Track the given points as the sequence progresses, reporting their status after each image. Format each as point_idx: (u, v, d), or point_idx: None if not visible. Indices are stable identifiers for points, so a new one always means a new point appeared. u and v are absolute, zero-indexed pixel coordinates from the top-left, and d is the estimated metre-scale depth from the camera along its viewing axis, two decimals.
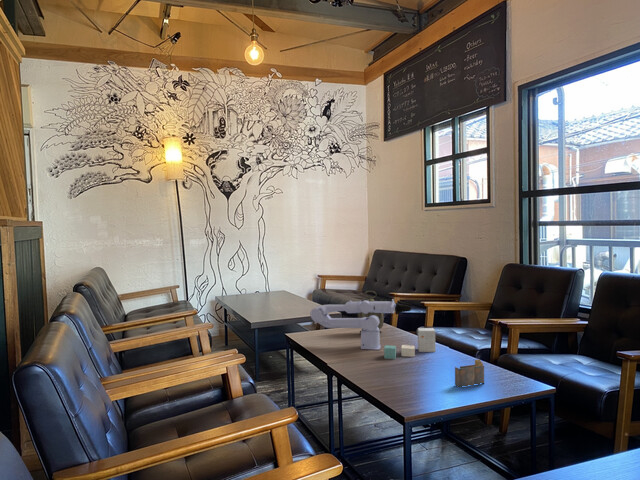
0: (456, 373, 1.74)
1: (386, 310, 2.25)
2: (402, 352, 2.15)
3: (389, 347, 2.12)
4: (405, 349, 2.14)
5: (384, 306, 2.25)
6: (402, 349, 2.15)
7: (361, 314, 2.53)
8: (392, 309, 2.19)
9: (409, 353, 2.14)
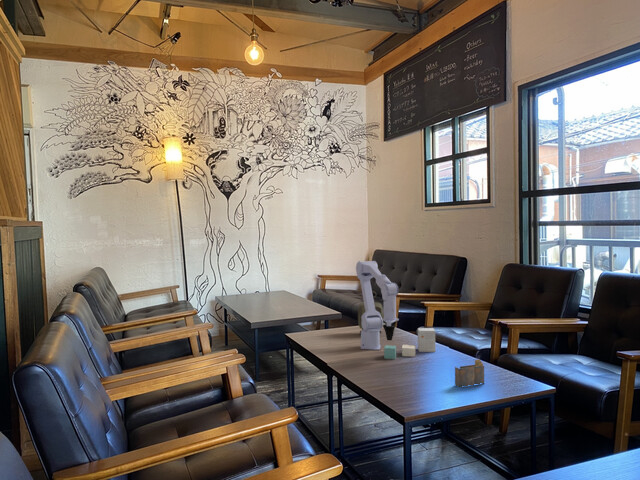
0: (456, 373, 1.74)
1: (386, 313, 2.10)
2: (403, 352, 2.15)
3: (389, 347, 2.12)
4: (406, 349, 2.15)
5: (390, 312, 2.09)
6: (403, 349, 2.15)
7: (361, 314, 2.53)
8: (388, 323, 2.05)
9: (410, 353, 2.14)
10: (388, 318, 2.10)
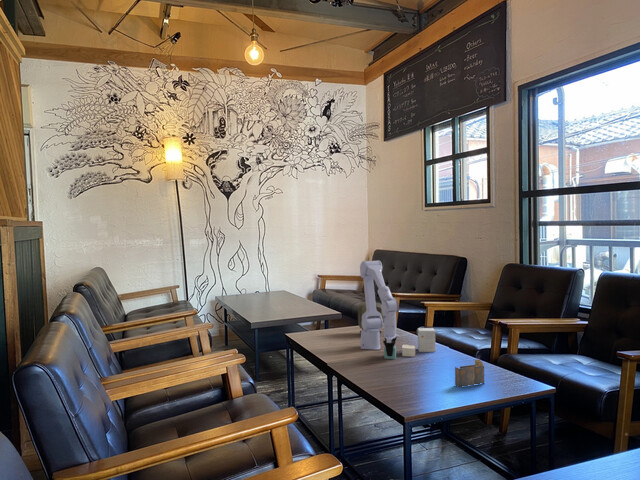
0: (456, 373, 1.74)
1: (386, 330, 2.10)
2: (403, 352, 2.15)
3: None
4: (406, 349, 2.14)
5: (391, 328, 2.10)
6: (403, 349, 2.15)
7: (361, 314, 2.53)
8: (388, 340, 2.06)
9: (410, 353, 2.14)
10: (388, 334, 2.10)
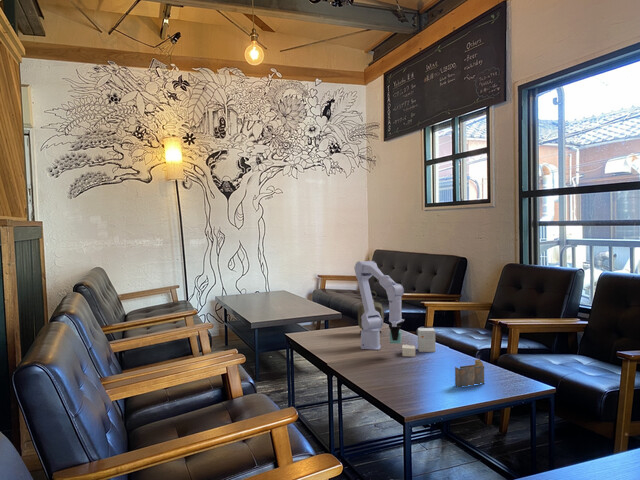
0: (456, 373, 1.74)
1: (392, 314, 2.11)
2: (403, 352, 2.15)
3: None
4: (406, 349, 2.14)
5: (396, 312, 2.11)
6: (403, 349, 2.15)
7: (361, 314, 2.53)
8: (393, 324, 2.07)
9: (410, 353, 2.14)
10: (393, 319, 2.11)
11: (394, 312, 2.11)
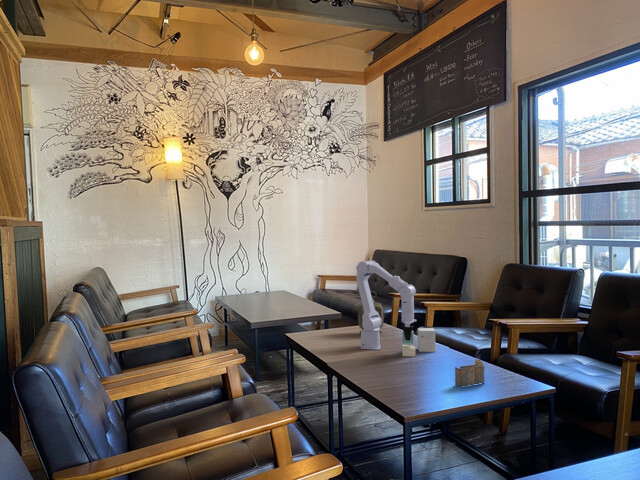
0: (456, 373, 1.74)
1: (404, 315, 2.14)
2: (403, 352, 2.15)
3: None
4: (406, 349, 2.14)
5: (409, 313, 2.14)
6: (403, 349, 2.15)
7: (361, 314, 2.53)
8: (407, 324, 2.09)
9: (410, 353, 2.14)
10: (406, 319, 2.14)
11: (407, 312, 2.14)
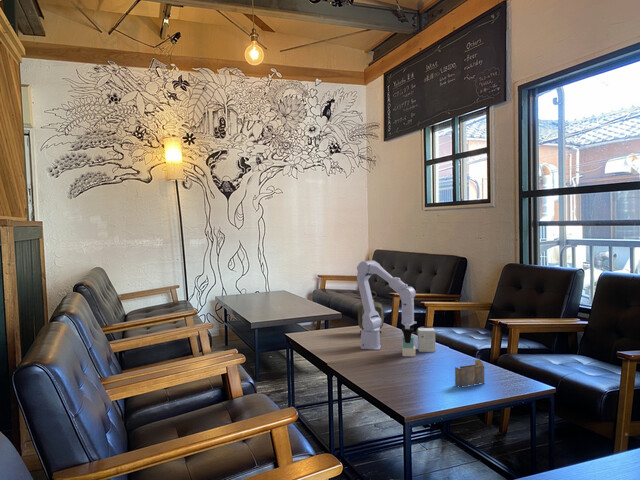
0: (456, 373, 1.74)
1: (404, 317, 2.14)
2: (403, 352, 2.15)
3: None
4: (406, 349, 2.14)
5: (409, 315, 2.14)
6: (403, 349, 2.15)
7: (361, 314, 2.53)
8: (407, 326, 2.09)
9: (410, 353, 2.14)
10: (406, 321, 2.14)
11: (407, 314, 2.14)
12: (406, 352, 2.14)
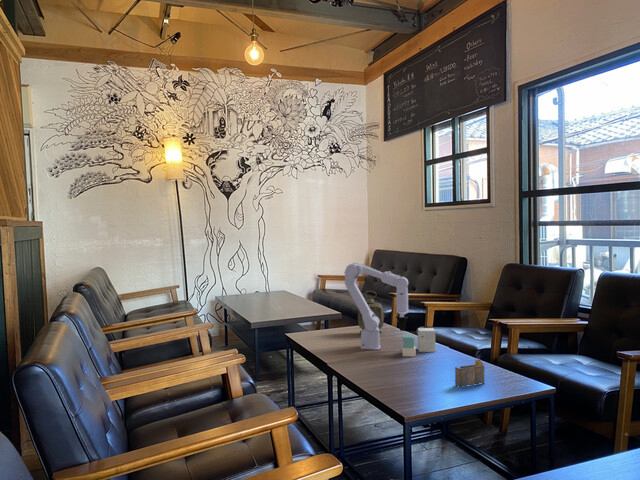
0: (456, 373, 1.74)
1: (399, 305, 2.23)
2: (403, 352, 2.15)
3: (408, 336, 2.16)
4: (406, 349, 2.14)
5: (403, 304, 2.22)
6: (403, 349, 2.15)
7: (361, 314, 2.53)
8: (401, 315, 2.18)
9: (410, 353, 2.14)
10: (401, 310, 2.22)
11: (401, 303, 2.22)
12: (406, 352, 2.14)
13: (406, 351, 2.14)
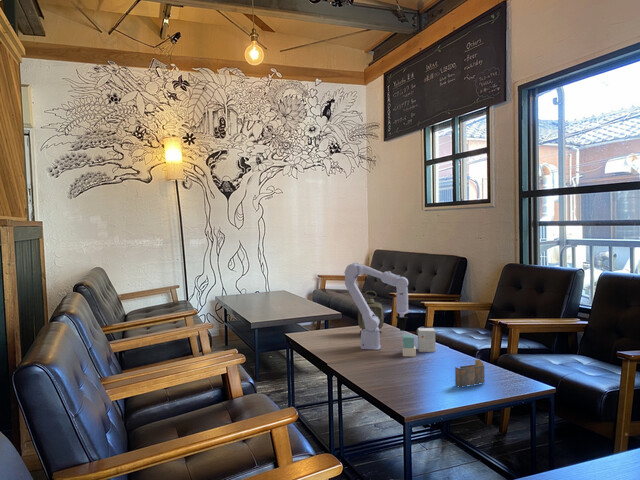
0: (456, 373, 1.74)
1: (399, 305, 2.23)
2: (403, 352, 2.15)
3: (408, 336, 2.16)
4: (406, 349, 2.14)
5: (403, 304, 2.22)
6: (403, 349, 2.15)
7: (361, 314, 2.53)
8: (401, 315, 2.18)
9: (410, 353, 2.14)
10: (401, 310, 2.22)
11: (401, 303, 2.22)
12: (406, 352, 2.14)
13: (406, 351, 2.14)
